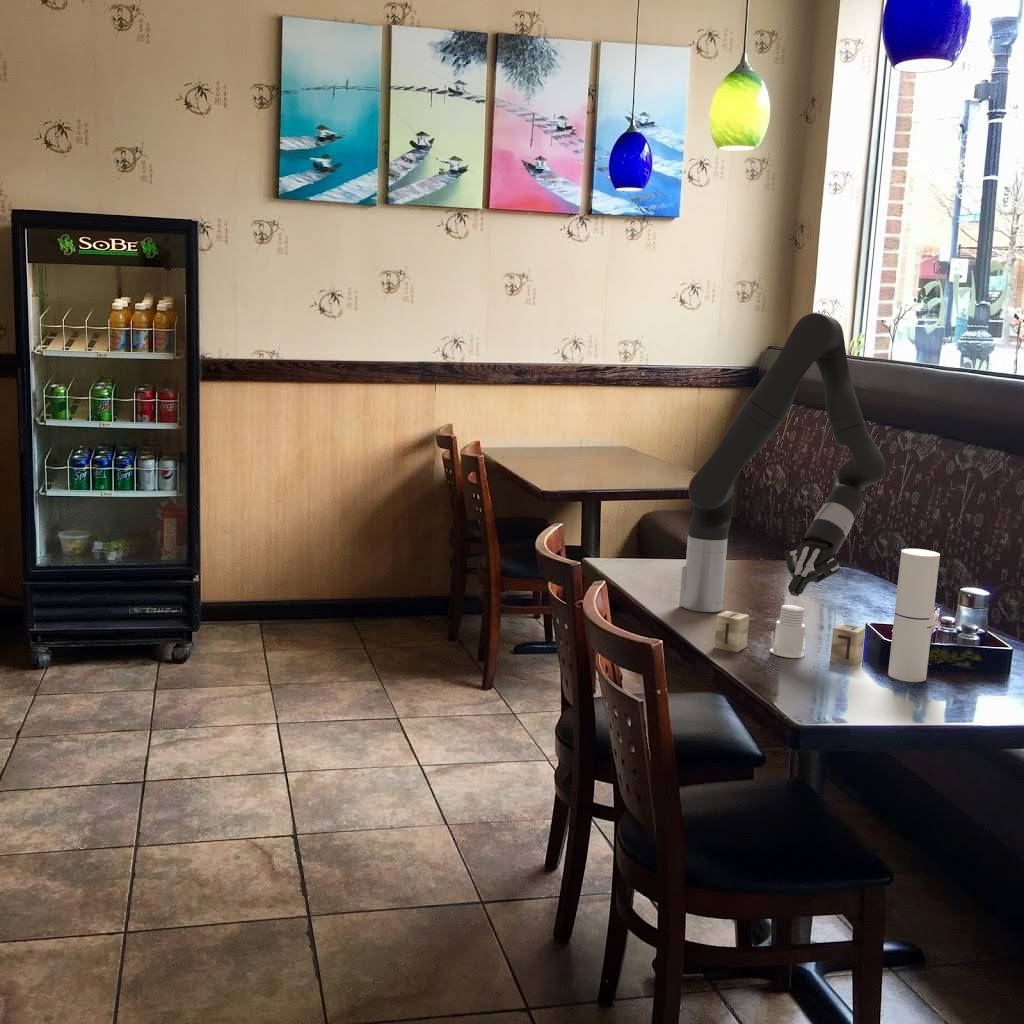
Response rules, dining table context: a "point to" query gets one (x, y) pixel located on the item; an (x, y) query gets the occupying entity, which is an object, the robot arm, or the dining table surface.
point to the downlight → (789, 633)
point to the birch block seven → (847, 644)
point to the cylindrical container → (913, 614)
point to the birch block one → (731, 631)
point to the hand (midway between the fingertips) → (793, 593)
